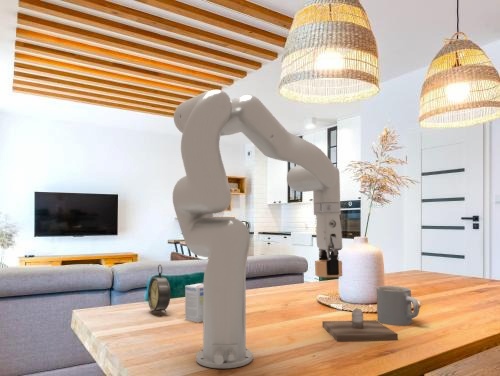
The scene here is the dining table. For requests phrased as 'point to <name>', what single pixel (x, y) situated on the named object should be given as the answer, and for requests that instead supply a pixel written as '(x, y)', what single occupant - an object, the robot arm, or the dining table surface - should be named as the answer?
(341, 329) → the post base
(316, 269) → the ring
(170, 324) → the dining table surface
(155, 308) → the alarm clock
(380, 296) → the coffee mug
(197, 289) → the light bulb box
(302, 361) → the dining table surface
